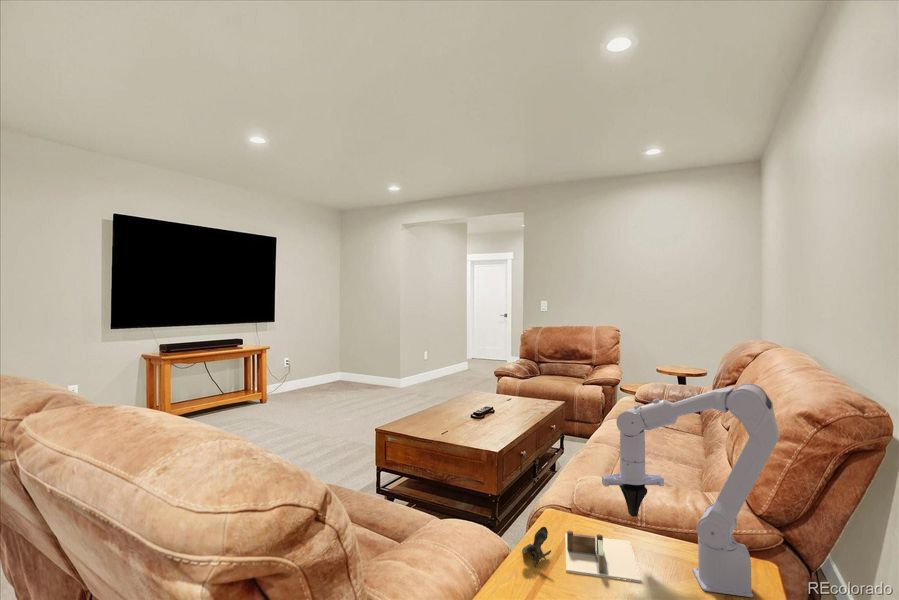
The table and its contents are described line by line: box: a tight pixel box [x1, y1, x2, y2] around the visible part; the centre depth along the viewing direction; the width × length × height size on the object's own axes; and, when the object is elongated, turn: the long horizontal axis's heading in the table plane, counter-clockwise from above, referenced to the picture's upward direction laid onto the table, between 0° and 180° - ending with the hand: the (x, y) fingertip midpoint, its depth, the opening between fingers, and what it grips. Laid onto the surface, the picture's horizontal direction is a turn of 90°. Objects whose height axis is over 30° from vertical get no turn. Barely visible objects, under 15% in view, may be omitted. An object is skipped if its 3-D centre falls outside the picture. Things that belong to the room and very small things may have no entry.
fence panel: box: [598, 540, 604, 572], centre depth 103 cm, size 7×1×4 cm, turn 164°
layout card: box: [564, 532, 643, 583], centre depth 107 cm, size 16×17×1 cm
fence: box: [566, 530, 604, 554], centre depth 108 cm, size 8×1×4 cm, turn 76°
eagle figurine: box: [521, 526, 552, 569], centre depth 107 cm, size 8×7×9 cm
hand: (632, 514), depth 109 cm, fingers closed
